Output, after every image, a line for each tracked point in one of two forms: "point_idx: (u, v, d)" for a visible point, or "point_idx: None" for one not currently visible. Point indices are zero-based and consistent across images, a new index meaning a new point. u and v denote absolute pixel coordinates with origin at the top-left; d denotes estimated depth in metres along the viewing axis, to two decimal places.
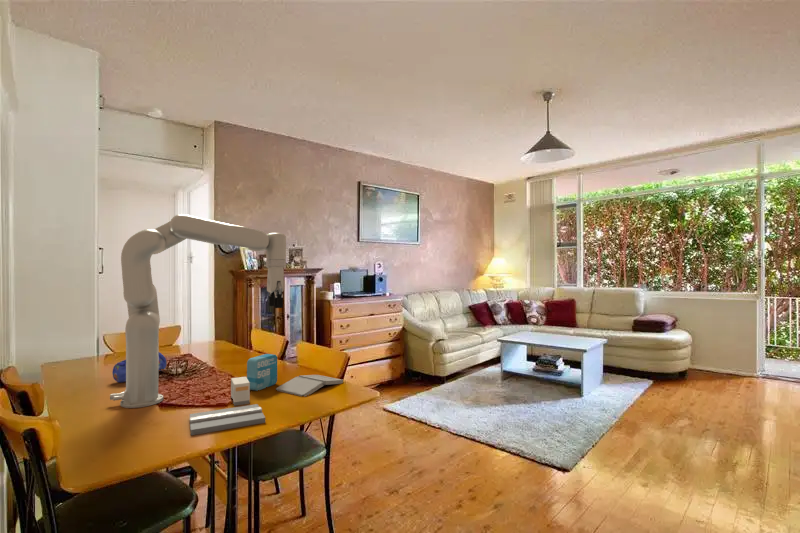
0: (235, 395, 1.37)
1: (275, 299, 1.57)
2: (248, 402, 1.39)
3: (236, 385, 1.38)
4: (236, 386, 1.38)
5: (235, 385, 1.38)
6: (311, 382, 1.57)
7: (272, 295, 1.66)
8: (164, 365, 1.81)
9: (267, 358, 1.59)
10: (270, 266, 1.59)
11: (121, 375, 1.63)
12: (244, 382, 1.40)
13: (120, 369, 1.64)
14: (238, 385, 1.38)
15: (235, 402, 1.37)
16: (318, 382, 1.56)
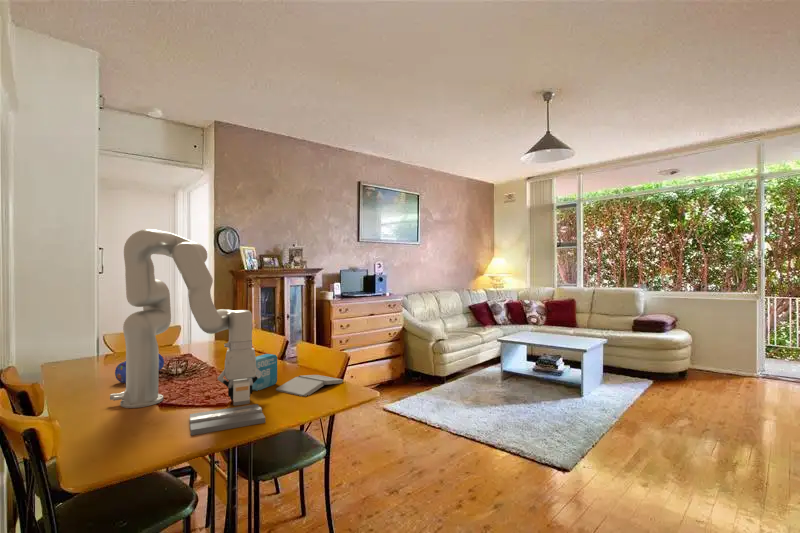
0: (235, 395, 1.37)
1: (250, 387, 1.43)
2: (248, 402, 1.39)
3: (236, 385, 1.38)
4: (236, 386, 1.38)
5: (235, 385, 1.38)
6: (311, 382, 1.57)
7: None
8: (162, 365, 1.82)
9: (267, 358, 1.59)
10: (249, 348, 1.41)
11: None
12: (244, 382, 1.40)
13: (124, 369, 1.63)
14: (238, 385, 1.38)
15: (235, 402, 1.37)
16: (318, 382, 1.56)
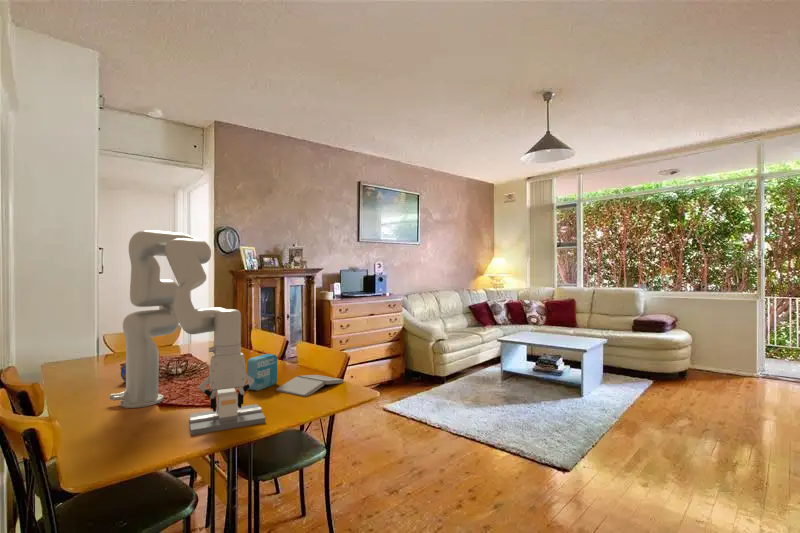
0: (220, 410, 1.19)
1: (241, 396, 1.25)
2: (236, 418, 1.21)
3: (222, 398, 1.19)
4: (222, 399, 1.19)
5: (220, 398, 1.19)
6: (311, 382, 1.57)
7: None
8: None
9: (267, 358, 1.59)
10: (237, 353, 1.23)
11: None
12: (231, 394, 1.21)
13: None
14: (224, 398, 1.19)
15: (220, 418, 1.19)
16: (319, 382, 1.56)
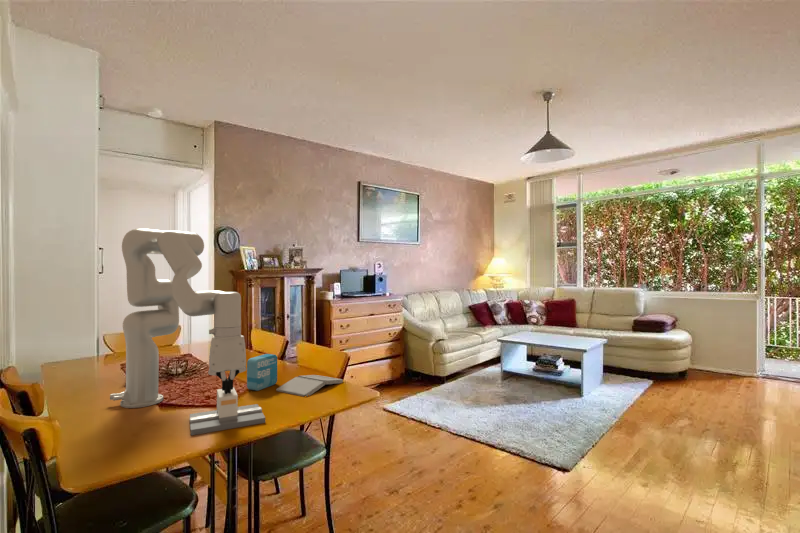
0: (220, 410, 1.19)
1: (230, 382, 1.23)
2: (236, 418, 1.21)
3: (222, 398, 1.19)
4: (222, 399, 1.19)
5: (220, 398, 1.19)
6: (312, 382, 1.57)
7: None
8: None
9: (267, 358, 1.59)
10: (237, 336, 1.23)
11: None
12: (231, 394, 1.21)
13: None
14: (224, 398, 1.19)
15: (220, 418, 1.19)
16: (319, 382, 1.56)
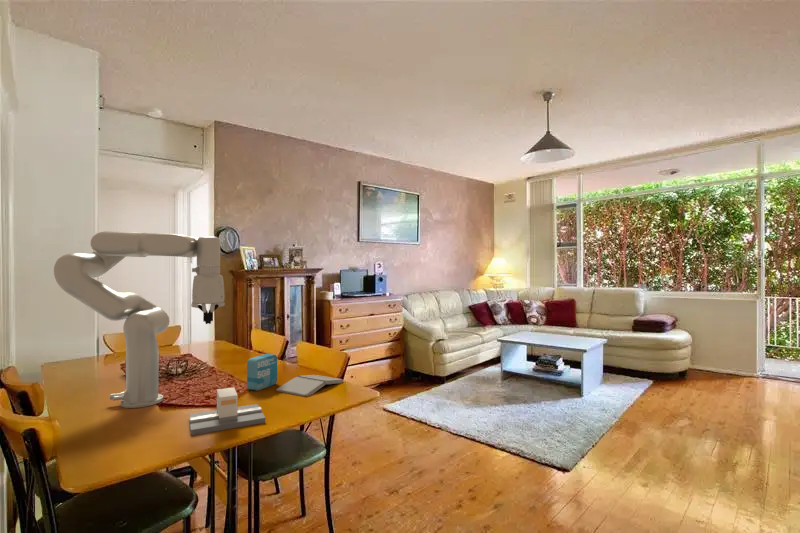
0: (220, 410, 1.19)
1: (210, 314, 1.42)
2: (236, 418, 1.21)
3: (222, 398, 1.19)
4: (222, 399, 1.19)
5: (220, 398, 1.19)
6: (312, 382, 1.57)
7: None
8: None
9: (267, 358, 1.59)
10: (217, 274, 1.42)
11: None
12: (231, 394, 1.21)
13: None
14: (224, 398, 1.19)
15: (220, 418, 1.19)
16: (319, 382, 1.56)
